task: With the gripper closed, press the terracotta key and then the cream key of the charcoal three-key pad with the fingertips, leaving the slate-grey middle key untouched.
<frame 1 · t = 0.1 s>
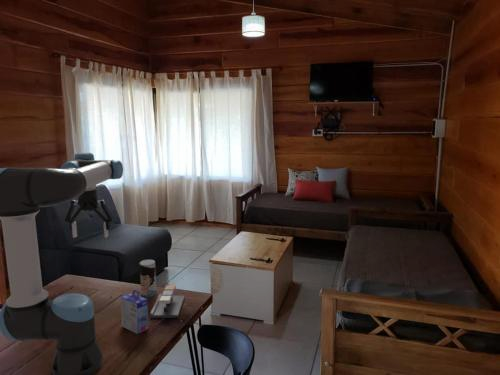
hand: (90, 236, 166), 28 cm above the table, fingers open, 13 cm apart
printed cylindrical canister: (149, 293, 175), on the table
key grey: (167, 294, 160), point 6 cm above the table, slide at 0.0 cm
keypad board: (168, 307, 161), on the table
key cream: (165, 299, 155), point 6 cm above the table, slide at 0.0 cm
ink cartridge box: (135, 328, 146), on the table
key terracotta: (170, 288, 165), point 6 cm above the table, slide at 0.0 cm
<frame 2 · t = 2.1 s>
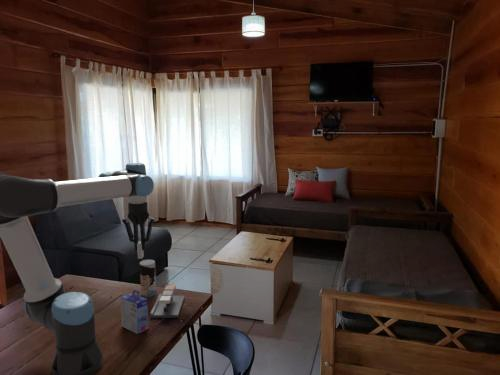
hand: (140, 257, 157), 22 cm above the table, fingers closed
nothing on the table moved.
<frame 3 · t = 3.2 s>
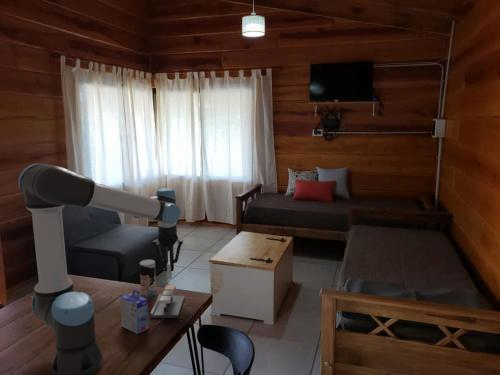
hand: (169, 277, 164), 11 cm above the table, fingers closed
nothing on the table moved.
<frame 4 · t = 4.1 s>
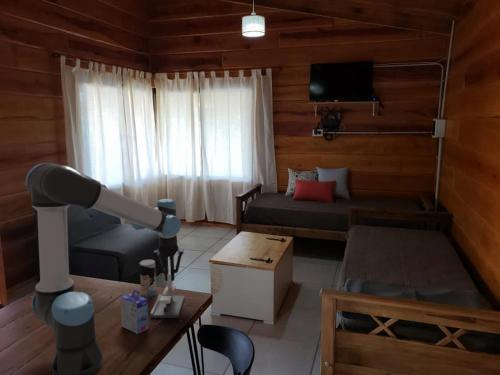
hand: (170, 287, 165), 7 cm above the table, fingers closed
key terracotta: (170, 289, 165), point 6 cm above the table, slide at 0.5 cm, touching gripper
everything else where it was.
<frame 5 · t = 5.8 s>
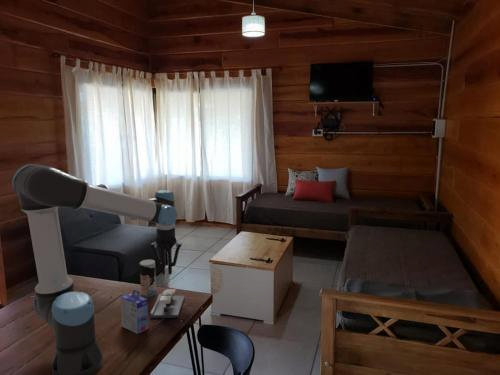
hand: (167, 281, 161), 11 cm above the table, fingers closed
key terracotta: (170, 292, 165), point 4 cm above the table, slide at 1.8 cm
everything else where it was.
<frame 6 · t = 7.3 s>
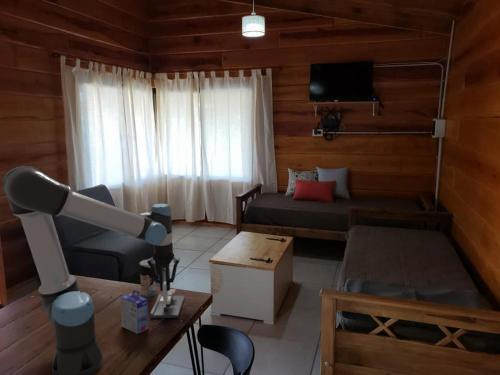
hand: (165, 297, 155), 7 cm above the table, fingers closed
key cream: (165, 300, 155), point 6 cm above the table, slide at 0.3 cm, touching gripper
everything else where it was.
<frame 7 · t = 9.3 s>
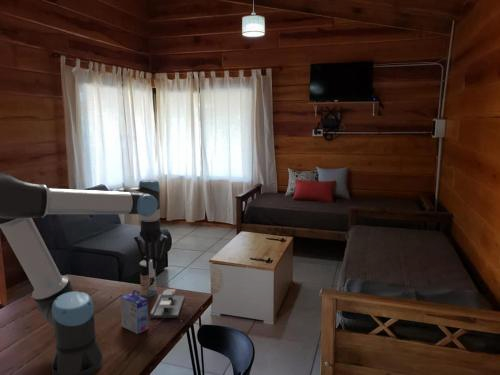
hand: (151, 276, 153), 16 cm above the table, fingers closed
key cream: (165, 303, 156), point 4 cm above the table, slide at 1.8 cm
everything else where it was.
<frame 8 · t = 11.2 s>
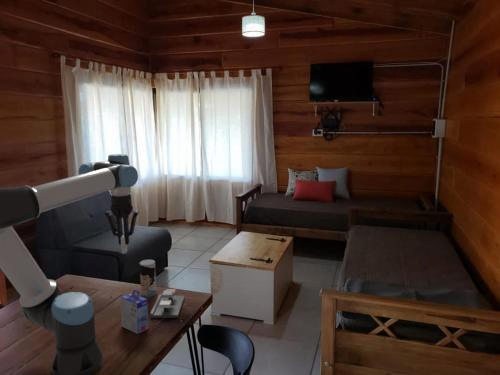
hand: (124, 252, 152), 26 cm above the table, fingers closed
nothing on the table moved.
at the end: key terracotta slide at 1.8 cm; key cream slide at 1.8 cm; key grey slide at 0.0 cm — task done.
